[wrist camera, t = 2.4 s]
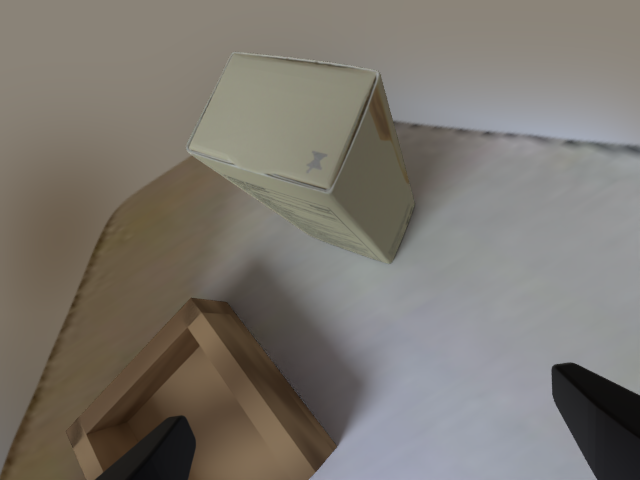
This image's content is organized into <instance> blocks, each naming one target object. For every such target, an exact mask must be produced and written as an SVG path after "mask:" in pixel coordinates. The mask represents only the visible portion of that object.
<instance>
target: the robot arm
mask: <svg viewBox="0 0 640 480" xmlns="http://www.w3.org/2000/svg"><path fill="white" fill-rule="evenodd" d="M552 395H553V399H554V402H555V404H556V406H557V408H558V410H559V412H560V413H561V415H562V417H563V419H564V421H565V422H566V424H567V426H568V428H569V430H570V432H571V433H572V435H573V437H574V439H575V441H576V443H577V444H578V446H579V448H580V450H581V452H582V454H583V455H584V457H585V459H586V461H587V463H588V465H589V466H590V468H591V470H592V472H593V473H594V475H595V477H596V478H597V480H640V395H638V394H636V393H634V392H632V391H630V390H628V389H626V388H624V387H622V386H620V385H618V384H616V383H614V382H612V381H610V380H608V379H606V378H604V377H602V376H600V375H598V374H596V373H594V372H591V371H589V370H587V369H585V368H583V367H581V366H579V365H577V364H575V363H562V364H555V365H553V366H552ZM195 449H196V439H195V436H194V434H193V431H192V429H191V427H190V425H189V422H188V420H187V418H186V417H185V416H183V415H179V416H171V417H168V418H167V419H165V420H164V421H163V422H162V423H161V424H159V425H158V426H157V427H156V428H155V429H154V430H152V431H151V432H150V433H149V434H148V435H146V436H145V437H144V438H143V439H142V440H141V441H139V442H138V443H137V444H136V445H135V446H133V447H132V448H131V449H130V450H129V451H128V452H126V453H125V454H124V455H123V456H122V457H121V458H119V459H118V460H117V461H116V462H115V463H113V464H112V465H111V466H110V467H109V468H108V469H106V470H105V471H104V472H103V473H102V474H101V475H99V476H98V477H97V478H96V479H95V480H188V478H189V474H190V470H191V466H192V462H193V458H194V454H195Z"/></svg>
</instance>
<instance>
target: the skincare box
mask: <svg viewBox="0 0 640 480" xmlns="http://www.w3.org/2000/svg"><path fill="white" fill-rule="evenodd" d="M186 150H187V151H188V153H189V154H191V155H192V156H194V157H195V158H197V159H198V160H200V161H201V162H203V163H204V164H205V165H207V166H208V167H210V168H211V169H213V170H214V171H216V172H217V173H219V174H220V175H222V176H223V177H225V178H226V179H227V180H229V181H230V182H232V183H233V184H235V185H236V186H238V187H239V188H241V189H242V190H243V191H245V192H246V193H248V194H249V195H251V196H252V197H254V198H255V199H257V200H258V201H260V202H261V203H263V204H264V205H265V206H267V207H268V208H270V209H271V210H273V211H274V212H276V213H277V214H279V215H280V216H282V217H283V218H285V219H286V220H287V221H289V222H290V223H292V224H293V225H295V226H296V227H298V228H299V229H301V230H302V231H303V232H305V233H306V234H308V235H310V236H312V237H314V238H317V239H319V240H322V241H324V242H327V243H330V244H332V245H335V246H338V247H340V248H343V249H346V250H349V251H352V252H354V253H357V254H360V255H363V256H366V257H369V258H372V259H375V260H378V261H381V262H385V263H388V264H391V263H392V261H393V259H394V257H395V254H396V252H397V250H398V247H399V245H400V242H401V240H402V238H403V235H404V233H405V230H406V228H407V225H408V223H409V220H410V217H411V214H412V211H413V208H414V205H415V202H414V198H413V194H412V190H411V187H410V183H409V180H408V176H407V172H406V168H405V164H404V160H403V156H402V153H401V149H400V145H399V142H398V138H397V134H396V130H395V127H394V123H393V120H392V115H391V112H390V108H389V105H388V101H387V97H386V93H385V90H384V86H383V82H382V79H381V75H380V73H379V72H378V71H376V70H372V69H366V68H362V67H355V66H350V65H345V64H338V63H331V62H324V61H317V60H309V59H301V58H292V57H283V56H273V55H264V54H253V53H241V52H233V53H232V54H231V56H230V57H229V59H228V61H227V64H226V66H225V68H224V70H223V72H222V74H221V76H220V78H219V80H218V82H217V84H216V86H215V88H214V90H213V92H212V93H211V95H210V97H209V100H208V102H207V104H206V106H205V108H204V110H203V112H202V114H201V116H200V118H199V120H198V122H197V124H196V126H195V128H194V130H193V132H192V134H191V136H190V138H189V140H188V142H187V144H186Z"/></svg>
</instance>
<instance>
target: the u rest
mask: <svg viewBox="0 0 640 480" xmlns="http://www.w3.org/2000/svg"><path fill="white" fill-rule="evenodd" d="M179 415H183V416H185V417H186V418H187V420H188V422H189V425H190V427H191V429H192V431H193V434H194V436H195V439H196V449H195V454H194V458H193V462H192V466H191V470H190V474H189V478H188V480H308V479H309V478H310V477H311V476H312V475H313V474H314V473H315V472H316V471H317V470H318V469H319V468H320V467H321V465H322V464H323V463H324V462H325V461H326V459H327V458H328V457H329V456H330V455H331V454H332V452H333V451H334V450H335V449H336V448H337V446H336V444H335V443H334V442H333V441H332V439H331V438H330V437H329V435H328V434H327V433H326V431H325V430H324V429H323V427H322V426H321V425H320V424H319V422H318V421H317V420H316V418H315V417H314V416H313V414H312V413H311V412H310V410H309V409H308V408H307V407H306V405H305V404H304V403H303V401H302V400H301V399H300V397H299V396H298V395H297V393H296V392H295V391H294V390H293V388H292V387H291V386H290V384H289V383H288V382H287V380H286V379H285V378H284V376H283V375H282V374H281V373H280V371H279V370H278V369H277V367H276V366H275V365H274V363H273V362H272V361H271V360H270V358H269V357H268V356H267V354H266V353H265V352H264V350H263V349H262V348H261V346H260V345H259V344H258V343H257V341H256V340H255V339H254V337H253V336H252V335H251V333H250V332H249V331H248V329H247V328H246V327H245V326H244V324H243V323H242V322H241V320H240V319H239V318H238V316H237V315H236V314H235V312H234V311H233V310H232V309H231V307H230V306H229V305H228V303H227V302H221V301H213V300H205V299H197V298H190V299H189V300H188V301H187V302H186V303H185V305H184V306H183V307H182V308H181V309H180V310H179V311H178V312H177V313H176V314H175V315H174V316H173V317H172V318H171V319H170V321H169V322H168V323H167V324H166V325H165V326H164V327H163V328H162V329H161V330H160V331H159V332H158V333H157V334H156V335H155V336H154V338H153V339H152V340H151V341H150V342H149V343H148V344H147V345H146V346H145V347H144V348H143V349H142V350H141V351H140V352H139V354H138V355H137V356H136V357H135V358H134V359H133V360H132V361H131V362H130V363H129V364H128V365H127V366H126V367H125V368H124V369H123V371H122V372H121V373H120V374H119V375H118V376H117V377H116V378H115V379H114V380H113V381H112V382H111V383H110V384H109V385H108V386H107V388H106V389H105V390H104V391H103V392H102V393H101V394H100V395H99V396H98V397H97V398H96V399H95V400H94V401H93V402H92V404H91V405H90V406H89V407H88V408H87V409H86V410H85V411H84V412H83V413H82V414H81V415H80V416H79V417H78V418H77V419H76V421H75V422H74V423H73V424H72V425H71V426H70V427H69V428H68V429H67V430H66V434H67V436H68V438H69V441H70V443H71V445H72V448H73V450H74V452H75V454H76V457H77V459H78V461H79V464H80V466H81V468H82V471H83V473H84V475H85V477H86V480H95V479H96V478H97V477H98V476H99V475H101V474H102V473H103V472H104V471H105V470H106V469H108V468H109V467H110V466H111V465H112V464H113V463H115V462H116V461H117V460H118V459H119V458H121V457H122V456H123V455H124V454H125V453H126V452H128V451H129V450H130V449H131V448H132V447H133V446H135V445H136V444H137V443H138V442H139V441H141V440H142V439H143V438H144V437H145V436H146V435H148V434H149V433H150V432H151V431H152V430H154V429H155V428H156V427H157V426H158V425H159V424H161V423H162V422H163V421H164V420H165V419H167V418H168V417H171V416H179Z"/></svg>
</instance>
